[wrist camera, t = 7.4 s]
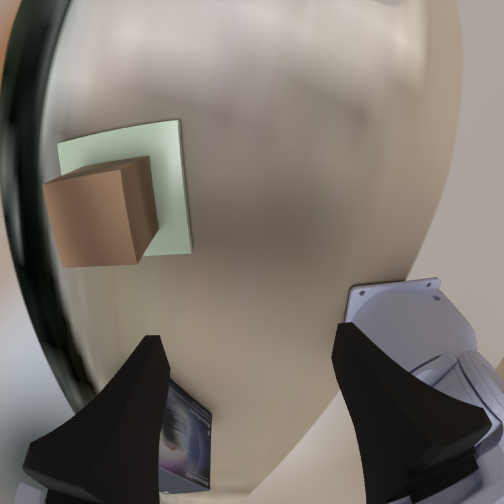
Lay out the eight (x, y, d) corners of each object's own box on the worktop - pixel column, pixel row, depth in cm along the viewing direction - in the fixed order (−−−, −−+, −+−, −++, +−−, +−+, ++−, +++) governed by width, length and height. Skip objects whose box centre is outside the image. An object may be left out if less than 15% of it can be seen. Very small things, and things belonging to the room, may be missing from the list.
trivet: (180, 119, 17) (177, 119, 16) (192, 248, 21) (191, 253, 20) (63, 142, 16) (57, 143, 16) (85, 255, 20) (81, 259, 20)
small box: (216, 413, 30) (214, 492, 21) (174, 423, 31) (166, 495, 22) (155, 361, 26) (134, 455, 16) (114, 377, 27) (88, 457, 17)
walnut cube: (149, 155, 17) (120, 169, 12) (159, 228, 19) (137, 264, 14) (83, 166, 17) (42, 184, 12) (95, 234, 19) (63, 267, 14)
